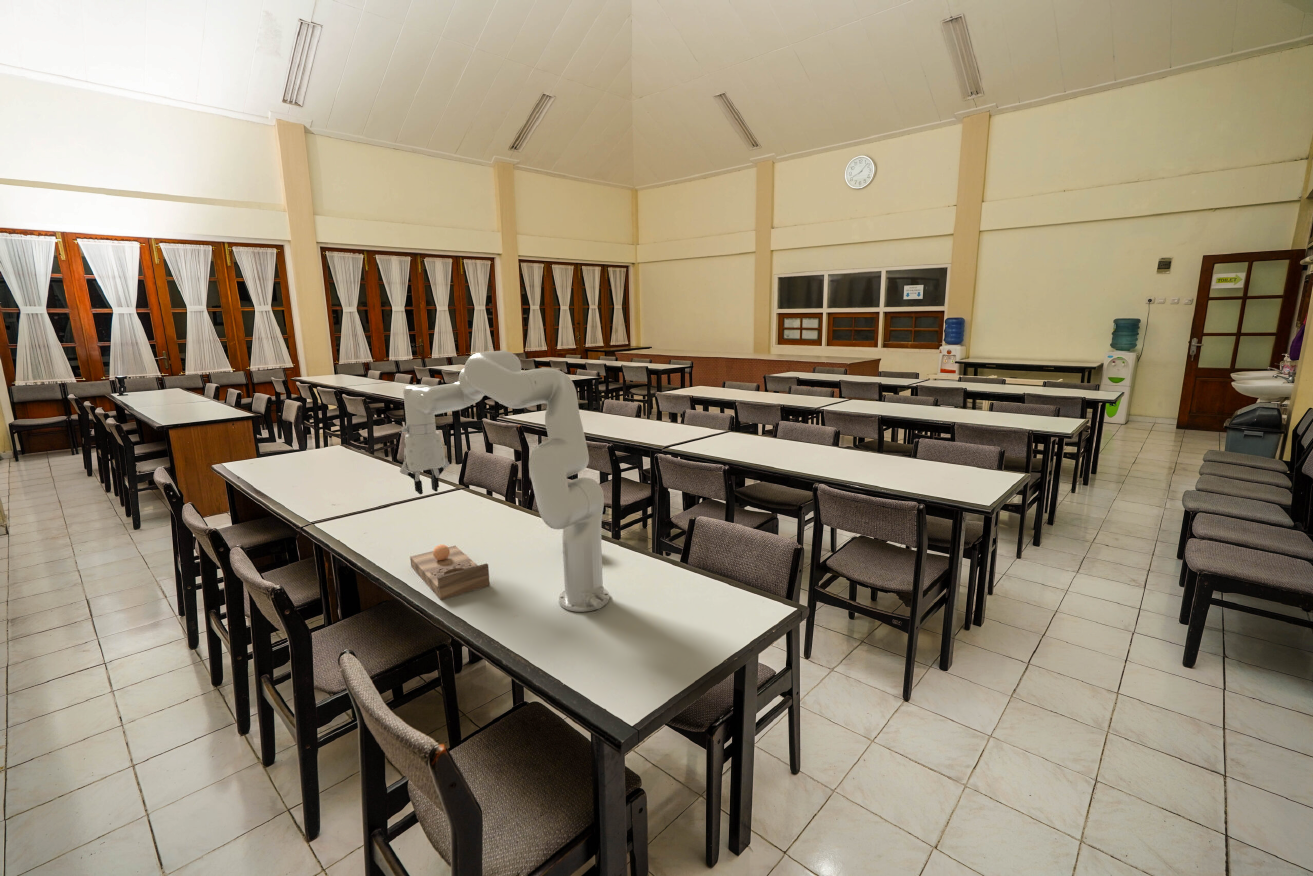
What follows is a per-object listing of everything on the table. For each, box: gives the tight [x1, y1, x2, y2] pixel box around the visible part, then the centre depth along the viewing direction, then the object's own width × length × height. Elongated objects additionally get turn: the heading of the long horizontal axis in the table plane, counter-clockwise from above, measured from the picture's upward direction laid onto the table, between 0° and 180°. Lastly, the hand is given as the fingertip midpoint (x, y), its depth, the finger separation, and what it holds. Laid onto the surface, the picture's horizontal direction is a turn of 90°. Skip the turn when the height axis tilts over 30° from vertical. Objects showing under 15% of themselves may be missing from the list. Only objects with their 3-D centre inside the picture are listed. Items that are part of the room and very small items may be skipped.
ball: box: [432, 544, 450, 560], centre depth 168 cm, size 4×4×4 cm
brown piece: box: [409, 545, 491, 601], centre depth 164 cm, size 26×13×6 cm, turn 37°
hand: (427, 491), depth 171 cm, fingers open, 3 cm apart
